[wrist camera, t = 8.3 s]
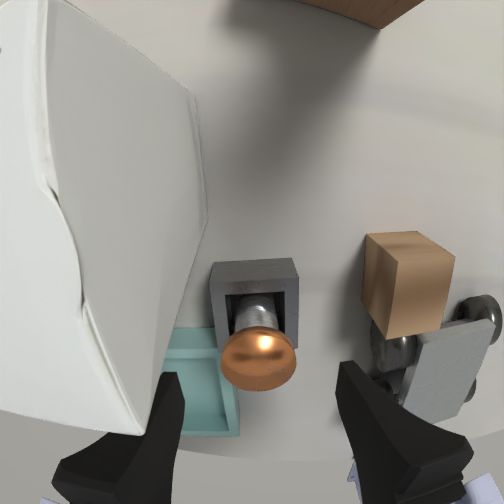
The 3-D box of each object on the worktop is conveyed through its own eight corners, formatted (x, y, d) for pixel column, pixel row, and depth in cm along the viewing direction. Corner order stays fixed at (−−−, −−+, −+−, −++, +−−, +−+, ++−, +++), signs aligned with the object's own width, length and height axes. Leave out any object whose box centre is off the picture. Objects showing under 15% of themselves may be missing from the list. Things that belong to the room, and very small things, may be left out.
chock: (408, 294, 21) (439, 329, 17) (360, 299, 21) (385, 339, 17) (416, 230, 20) (455, 256, 15) (366, 233, 20) (398, 261, 15)
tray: (239, 415, 25) (239, 436, 23) (155, 413, 25) (149, 433, 23) (228, 326, 22) (226, 348, 19) (125, 328, 22) (114, 347, 20)
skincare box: (102, 110, 16) (-123, 108, 2) (203, 91, 16) (59, -51, 2) (119, 235, 19) (-43, 401, 5) (216, 226, 19) (149, 454, 5)
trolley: (446, 383, 25) (467, 415, 21) (355, 404, 25) (369, 445, 21) (478, 285, 21) (512, 313, 17) (374, 300, 21) (401, 339, 17)
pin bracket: (291, 322, 22) (297, 348, 19) (221, 327, 22) (218, 353, 19) (291, 257, 20) (298, 277, 17) (214, 262, 20) (208, 282, 17)
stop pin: (281, 315, 22) (295, 388, 15) (230, 318, 22) (225, 392, 15) (280, 268, 20) (297, 333, 13) (225, 271, 20) (216, 337, 14)
